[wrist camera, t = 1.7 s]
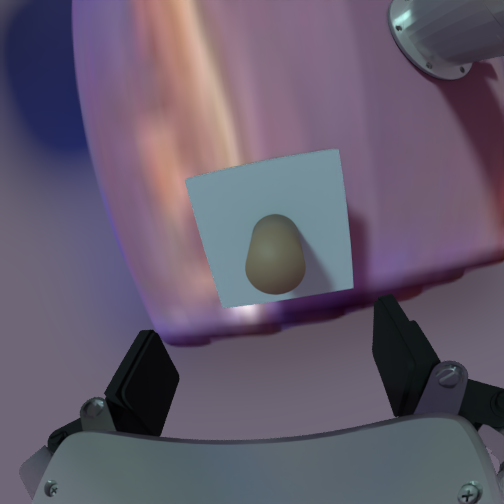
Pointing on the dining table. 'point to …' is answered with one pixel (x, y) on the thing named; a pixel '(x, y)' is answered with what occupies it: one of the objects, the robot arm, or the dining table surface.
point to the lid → (275, 228)
